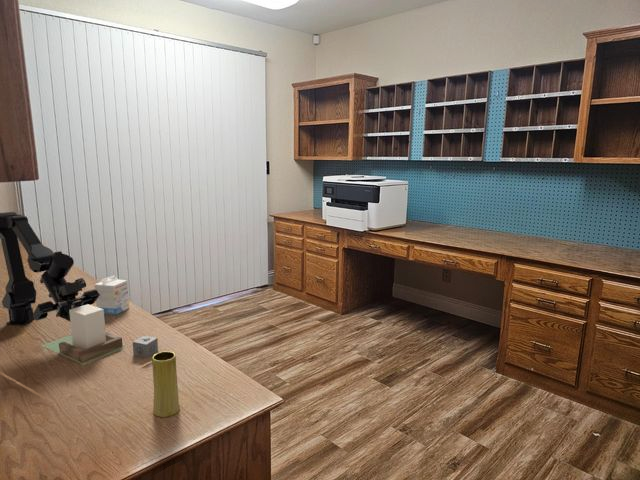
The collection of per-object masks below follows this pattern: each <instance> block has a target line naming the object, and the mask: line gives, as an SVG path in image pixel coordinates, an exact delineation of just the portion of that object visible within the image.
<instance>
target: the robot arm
mask: <svg viewBox="0 0 640 480" xmlns="http://www.w3.org/2000/svg"><path fill="white" fill-rule="evenodd" d="M28 219H29V218H28V217H27V216H26V215H24V214H19V213H18V214H17V213H16V212H15V211H7V212H0V243H1V246H2V251H3V256H4V261H5V266H6V270H7V275H8V282H7V283H6V285H5V295H4V296H3V298H2V301H1V304H2V307H3V308H4V309H7V311H8V317H9V321H7V322H6V325H17V326H18V325H22V326H23V325H26V324H28V323H29V322H31V321H33V320H35V321H40V320H44V319H47V317H48V315H49V313H51V312H53V311H55V312H56V315H55V317H56V318H58V317H59V318H62V319H63V320H64V319H65V320H66V321H68V322H70V312H69V310H70V309H74V308H77V307H80V306H84V305H87V304H89V305H93V304H96V300H97V298H98V297H99V296H100V294H99V292H98V291H97V290H95V288H94V289H89V290H87V291H86V290H85V291H84V292H83V289H84V288H86V287H87V282H86V280H85V279H84V278H83V277H80V278H77V279H75V280H74V281H73V282H70V281H67V280H66V278H65V277H67V276H68V274H69V273H70V270H71V269H72V267H73V265H74V264H75V262H74V261H75V260H74V259H73V257H72V256H70V255H69V254H65V253H63V251H62V250H60V251H55V252H54V251H53V250H52V249H51V248H49V247H48V246H45V245H44V244H43V243H42V242H41V240H40V238H39V237H38V235H37V234H36V232H35V231H34V230H33V228H32V226H31V224H30V223H29V220H28ZM19 241H20V243H19ZM20 244H21V245H22V247H23V248H24V249H25V252H26V253H27V255H28V256H27V260H26V261H27V264H28V267H29V269H30V270H31V271H32V272H33V273H37V274H38V273H42V274H41V276H40V279H39V283H40V284H44V286H45V288H46V289H47V291H48V295H47V296H48V297H49V299H50V298H52V300H53V301H52V300H49V301H46V302H42V303H38V304H37V306H36V307H35V310H34V308H33V307H32V304H35V303H36V301H37V290H36V288H35V284H34V283H35V282H34V281H33V280H30V279H29V278H28V277H27V276H26V271H25V268H24V262H23V257H22V253H21V249H20V248H21V247H20ZM79 292H83V294H82V295H81V296H79ZM77 296H78V297H77ZM53 302H54V303H53Z"/></svg>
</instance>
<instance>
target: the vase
mask: <svg viewBox="0 0 640 480" xmlns="http://www.w3.org/2000/svg"><path fill="white" fill-rule="evenodd" d="M151 363H152V381H153V382H152V383H153V404H152V405H153V408H152V412H153V415H155V416H156V417H158V418H159V417H160V418H167V417H171V416H173V415H176V413H178V412H179V411H180V407H181V406H180V402H179V399H180V398H179V385H178V375H177V373H178V372H177V356H176V353H175V352H174V351H171V350H170V351H169V350H167V351H166V350H164V351H160V352H159V351H158V352H156V353H154V354H153V355H152V357H151Z"/></svg>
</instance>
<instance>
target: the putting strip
mask: <svg viewBox="0 0 640 480" xmlns="http://www.w3.org/2000/svg"><path fill="white" fill-rule="evenodd" d="M61 342H66V343H68V344H71V345H73V344H72V334H71V335H68V336H65V337H61V338H58V339H56V340H53V341H50V342H47V343H43V344H41V345H40V346H41V347H43V348H46V349H47V350H50V351H52V352H54V353H56V354H59V355H61V356H62V357H65V358H67V359H69V360H72V361H74V362H76V363H78V364H81V365H83V366H85V365H88V364H89V363H92V362H95V361H97V360H100V359H102V358H104V357H107V356H109V355H112V354H114V353H116V352H119V351H121V350H124V349H126V348H127V346H125V345H123V347H120V348H118V349H115V350H113V351H111V352H108V353H106V354H103V355H101V356H98V357H96V358H93V359H91V360H89V361H86V362H84V363H82V362H80V361H77V360H75V359H73V358H71V357H69V356H66V355H64V354H62V353H60V351H59V343H61Z"/></svg>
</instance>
